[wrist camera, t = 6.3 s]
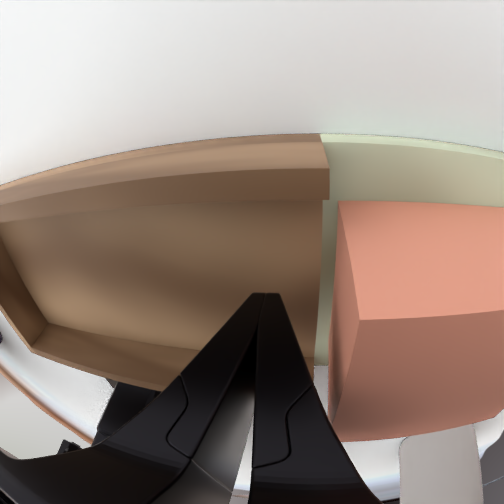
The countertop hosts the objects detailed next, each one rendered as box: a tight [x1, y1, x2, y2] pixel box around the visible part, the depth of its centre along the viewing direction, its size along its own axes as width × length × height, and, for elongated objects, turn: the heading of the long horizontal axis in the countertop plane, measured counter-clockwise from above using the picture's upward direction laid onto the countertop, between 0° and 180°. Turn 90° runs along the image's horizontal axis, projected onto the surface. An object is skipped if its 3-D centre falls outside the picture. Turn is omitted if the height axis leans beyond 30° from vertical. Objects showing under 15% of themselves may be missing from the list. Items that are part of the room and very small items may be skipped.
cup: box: [399, 424, 483, 504], centre depth 15 cm, size 7×10×9 cm
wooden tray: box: [0, 134, 504, 392], centre depth 9 cm, size 9×23×3 cm, turn 96°
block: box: [328, 201, 504, 442], centre depth 7 cm, size 6×6×4 cm
